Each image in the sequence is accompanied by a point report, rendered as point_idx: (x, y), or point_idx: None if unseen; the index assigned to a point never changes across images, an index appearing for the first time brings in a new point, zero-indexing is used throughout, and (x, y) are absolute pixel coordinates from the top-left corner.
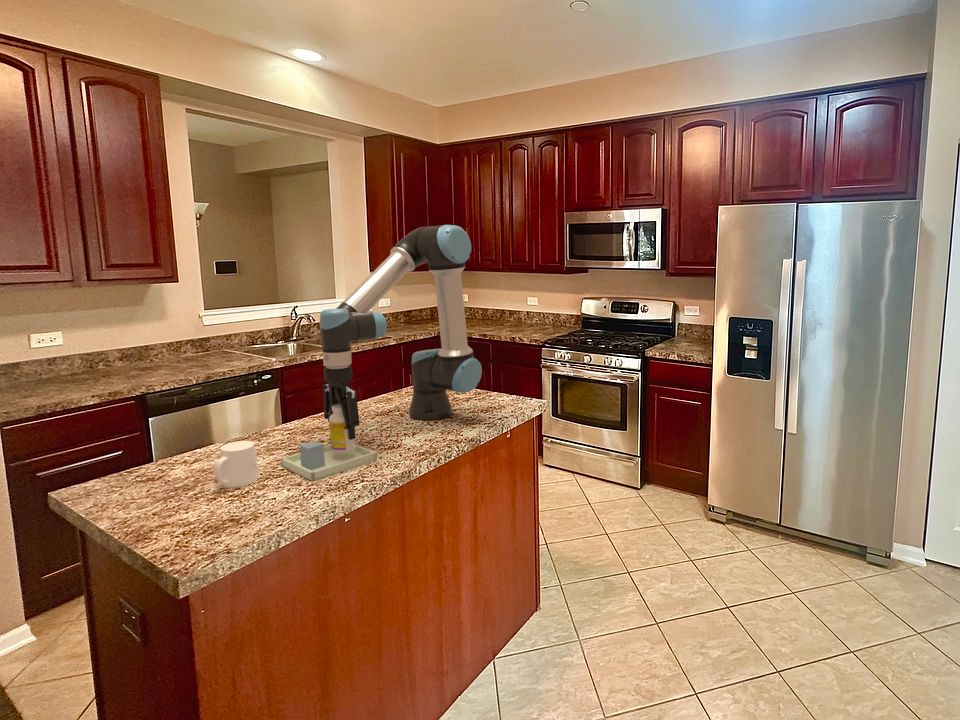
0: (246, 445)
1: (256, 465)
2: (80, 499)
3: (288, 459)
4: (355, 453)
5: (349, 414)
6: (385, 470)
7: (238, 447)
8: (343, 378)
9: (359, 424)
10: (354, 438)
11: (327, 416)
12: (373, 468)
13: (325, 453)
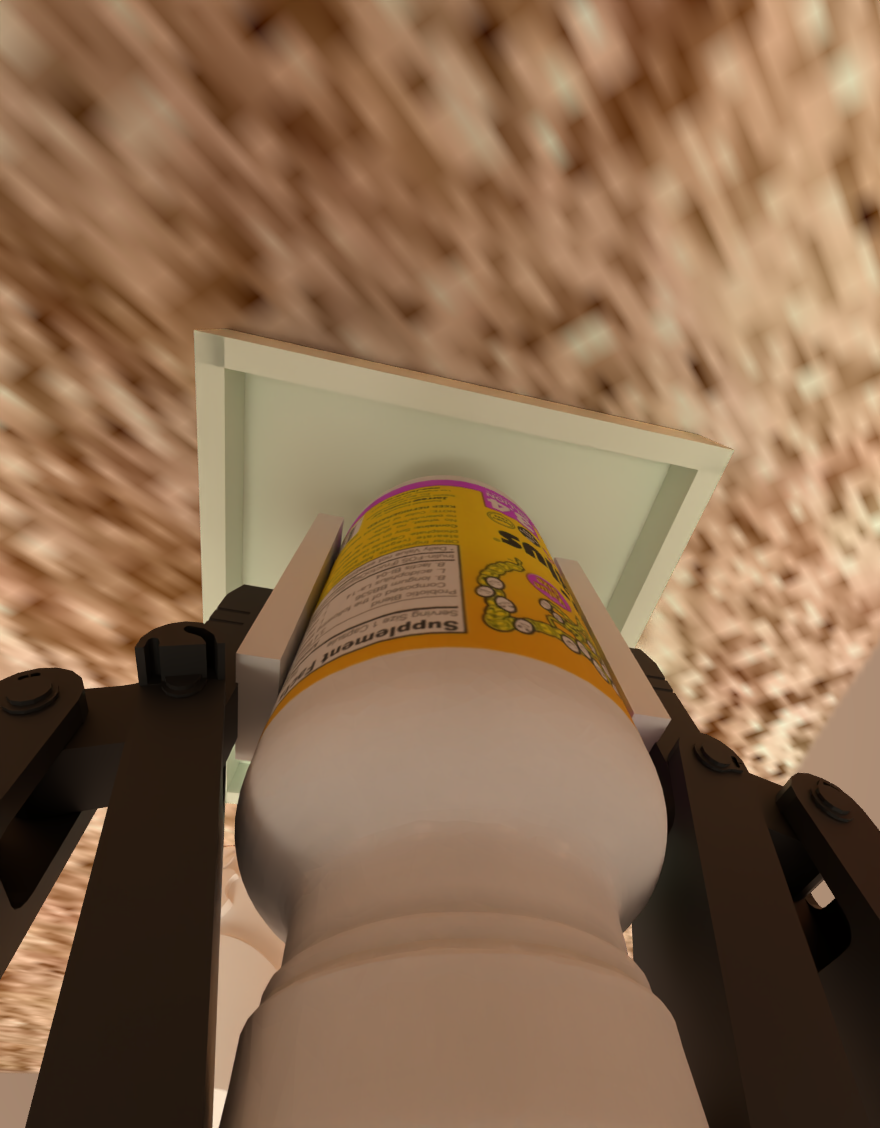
0: (215, 1106)
1: (267, 929)
2: (37, 1059)
3: (231, 767)
4: (473, 446)
5: (869, 1111)
6: (846, 555)
7: (215, 1120)
8: None
9: (849, 802)
10: (639, 656)
11: (88, 798)
12: (748, 566)
13: (268, 558)
